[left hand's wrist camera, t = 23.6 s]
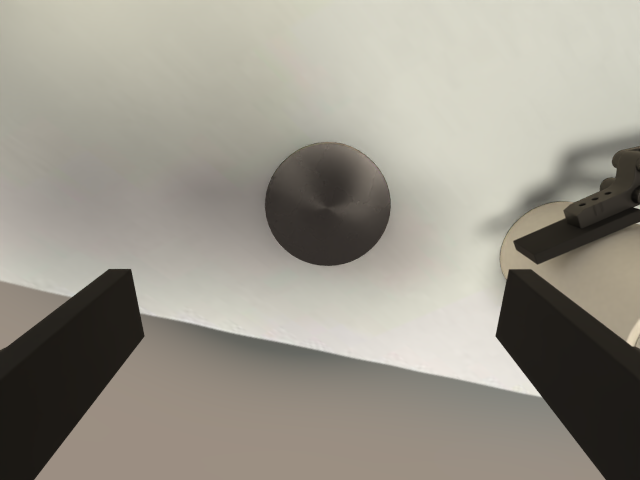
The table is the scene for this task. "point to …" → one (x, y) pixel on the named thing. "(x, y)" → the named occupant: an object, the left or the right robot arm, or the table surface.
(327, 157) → the lid
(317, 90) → the table surface
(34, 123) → the table surface
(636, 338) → the jar
